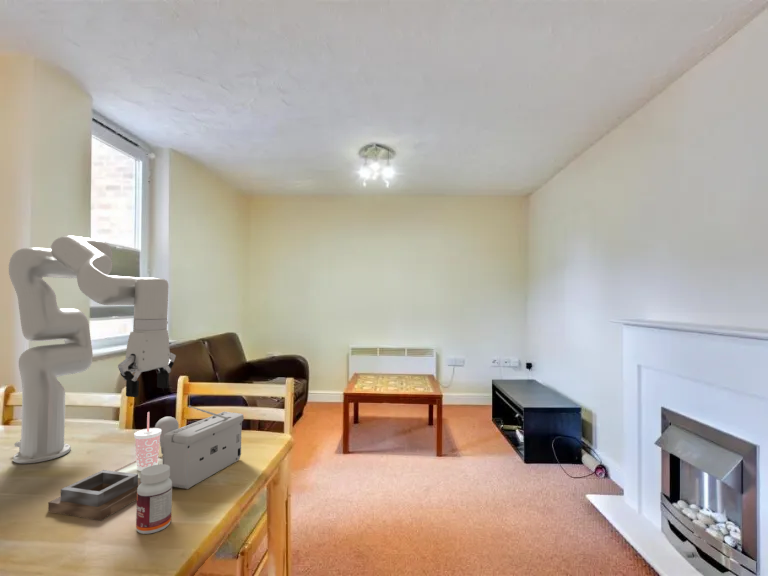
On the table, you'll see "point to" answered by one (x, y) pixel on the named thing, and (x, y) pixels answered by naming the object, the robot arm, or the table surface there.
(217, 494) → the table surface
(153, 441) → the beverage cup
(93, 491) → the socket board
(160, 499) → the pill bottle
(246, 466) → the table surface
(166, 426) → the lightbulb
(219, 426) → the stereo radio cassette player
